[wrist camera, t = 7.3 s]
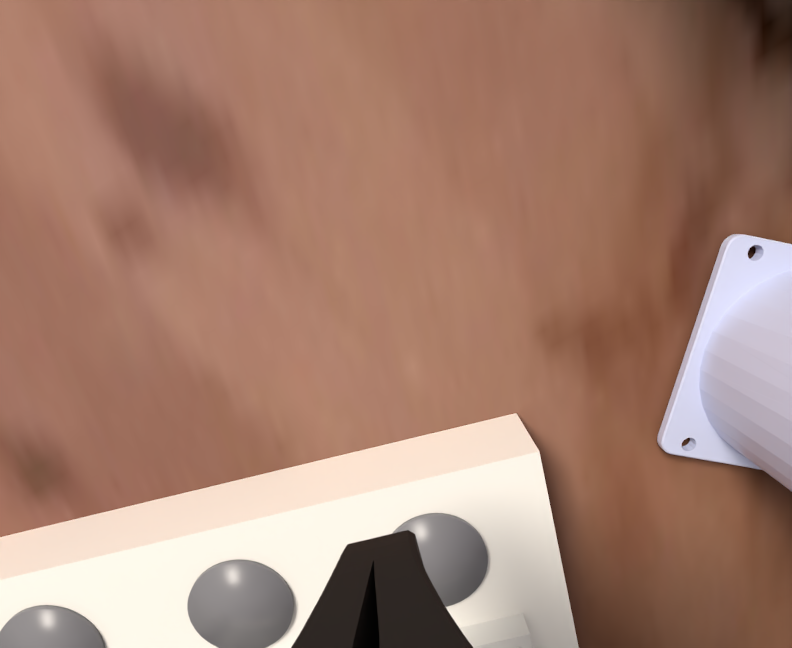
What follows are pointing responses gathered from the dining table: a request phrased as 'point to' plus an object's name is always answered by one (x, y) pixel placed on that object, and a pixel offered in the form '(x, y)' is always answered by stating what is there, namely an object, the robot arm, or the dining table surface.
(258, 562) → the rocker switch panel
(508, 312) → the dining table surface
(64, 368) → the dining table surface
